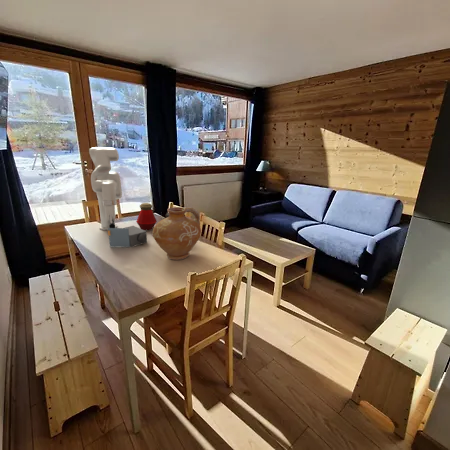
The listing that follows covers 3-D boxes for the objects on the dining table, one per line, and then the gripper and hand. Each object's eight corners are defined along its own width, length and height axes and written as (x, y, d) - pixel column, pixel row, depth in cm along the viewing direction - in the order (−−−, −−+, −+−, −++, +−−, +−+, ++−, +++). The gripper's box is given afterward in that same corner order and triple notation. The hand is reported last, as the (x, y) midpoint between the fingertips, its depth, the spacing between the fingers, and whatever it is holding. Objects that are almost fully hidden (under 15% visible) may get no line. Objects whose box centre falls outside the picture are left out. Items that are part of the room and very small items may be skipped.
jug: (150, 249, 159) (148, 203, 150) (193, 244, 170) (193, 201, 161) (157, 269, 135) (155, 216, 125) (207, 262, 146) (208, 212, 136)
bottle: (133, 229, 192) (131, 204, 186) (143, 224, 205) (141, 200, 198) (151, 232, 188) (149, 206, 182) (160, 227, 201) (159, 203, 194)
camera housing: (118, 240, 171) (117, 229, 168) (134, 236, 180) (133, 225, 177) (132, 248, 160) (131, 236, 157) (149, 243, 169) (148, 232, 166)
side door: (109, 247, 158) (107, 228, 155) (110, 246, 160) (108, 227, 156) (129, 247, 159) (127, 229, 155) (129, 246, 161) (128, 228, 157)
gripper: (103, 199, 158) (106, 227, 164) (102, 205, 145) (105, 234, 151) (116, 199, 161) (119, 226, 167) (116, 204, 148) (118, 233, 154)
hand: (112, 230), depth 159 cm, fingers closed
